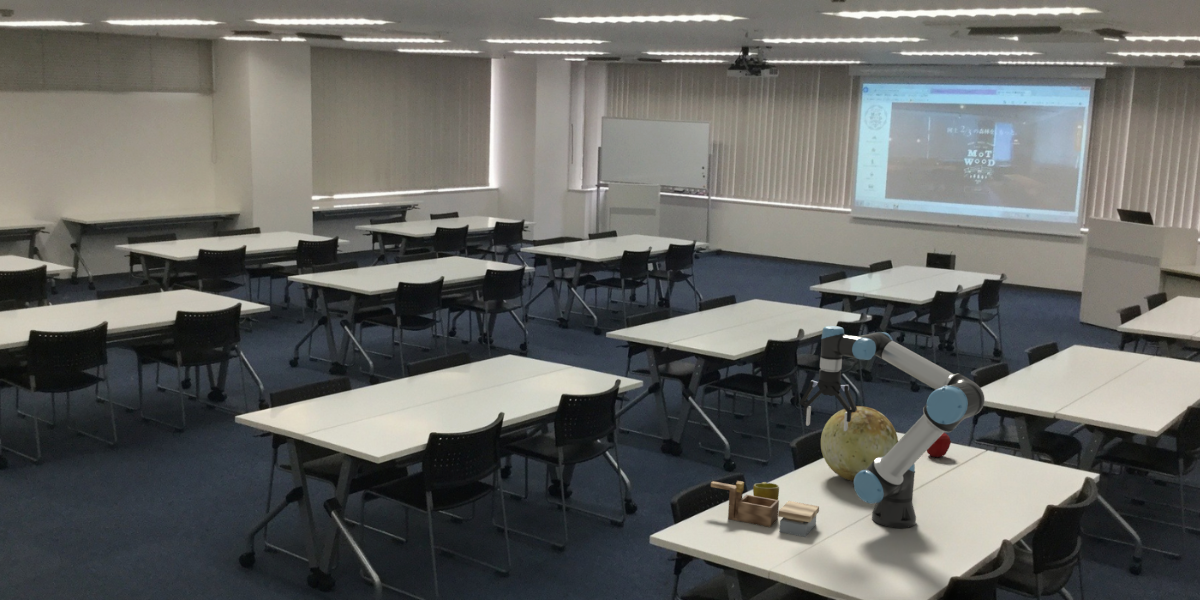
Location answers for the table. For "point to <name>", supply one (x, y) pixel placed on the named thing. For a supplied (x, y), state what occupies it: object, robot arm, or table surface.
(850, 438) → the speckled ball
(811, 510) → the lid
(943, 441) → the apple
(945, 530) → the table surface
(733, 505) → the toolbox
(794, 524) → the block
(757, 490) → the mug
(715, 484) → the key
